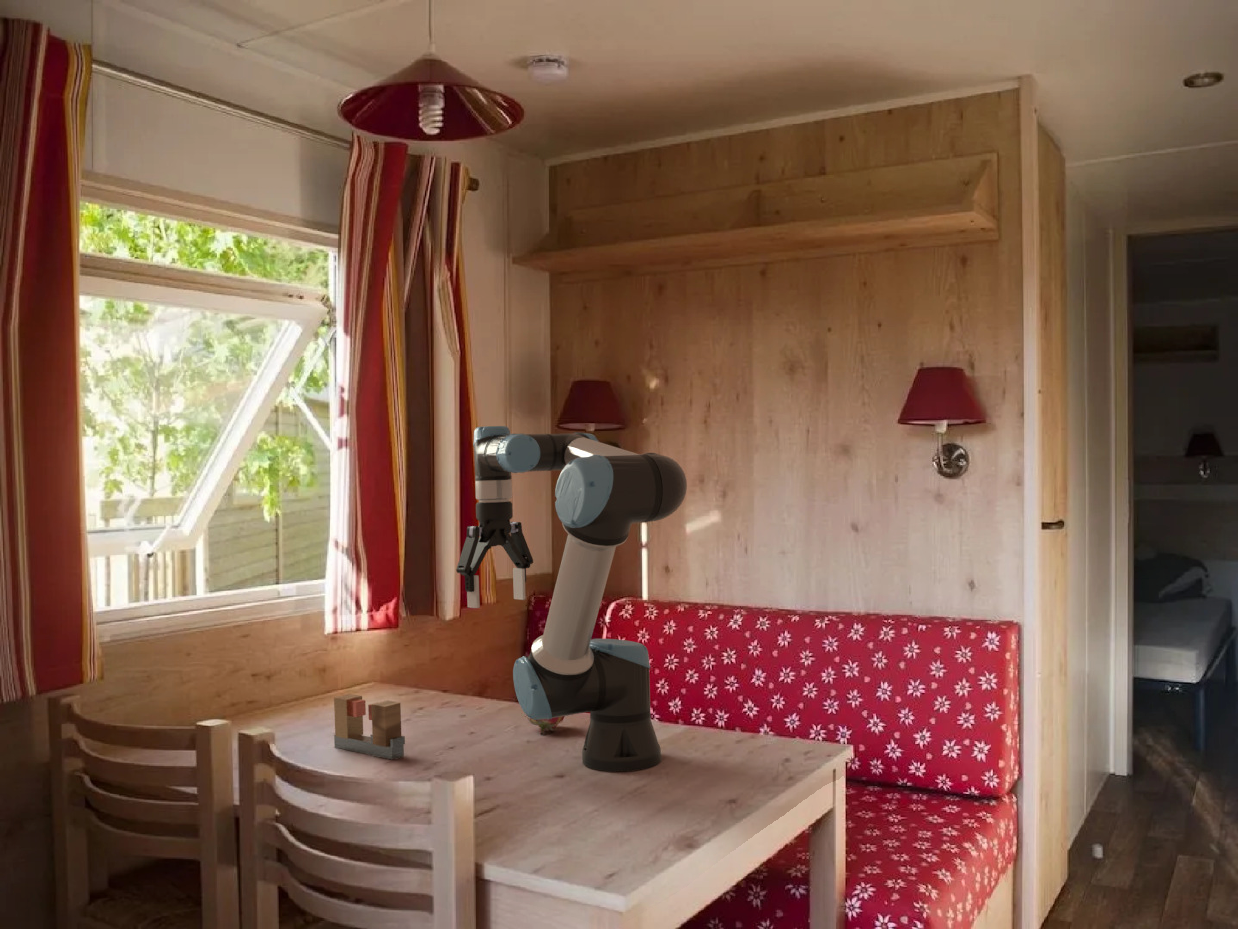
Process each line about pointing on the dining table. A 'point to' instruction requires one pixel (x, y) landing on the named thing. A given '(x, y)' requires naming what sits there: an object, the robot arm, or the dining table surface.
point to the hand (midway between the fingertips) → (497, 603)
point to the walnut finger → (385, 721)
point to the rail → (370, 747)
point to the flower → (547, 723)
